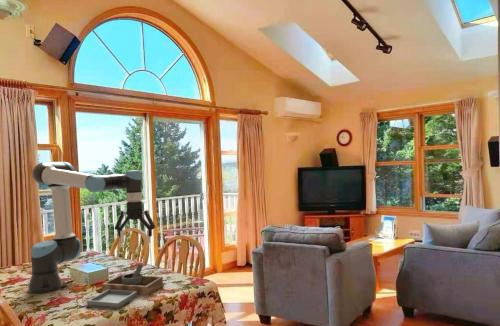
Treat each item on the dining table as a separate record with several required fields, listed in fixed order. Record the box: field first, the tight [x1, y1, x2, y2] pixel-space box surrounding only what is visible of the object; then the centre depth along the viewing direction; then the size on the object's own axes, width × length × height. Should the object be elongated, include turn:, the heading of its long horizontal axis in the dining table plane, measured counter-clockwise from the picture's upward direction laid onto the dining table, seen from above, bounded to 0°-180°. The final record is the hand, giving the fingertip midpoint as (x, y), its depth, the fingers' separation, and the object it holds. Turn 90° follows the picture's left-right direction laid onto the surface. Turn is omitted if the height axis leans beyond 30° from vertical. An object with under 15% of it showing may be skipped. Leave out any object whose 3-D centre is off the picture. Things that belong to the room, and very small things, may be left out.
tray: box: [86, 289, 138, 310], centre depth 178 cm, size 16×16×3 cm
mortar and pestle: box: [122, 263, 144, 286], centre depth 194 cm, size 11×9×12 cm
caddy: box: [101, 274, 164, 297], centre depth 195 cm, size 24×16×4 cm, turn 75°
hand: (135, 243), depth 196 cm, fingers open, 13 cm apart
